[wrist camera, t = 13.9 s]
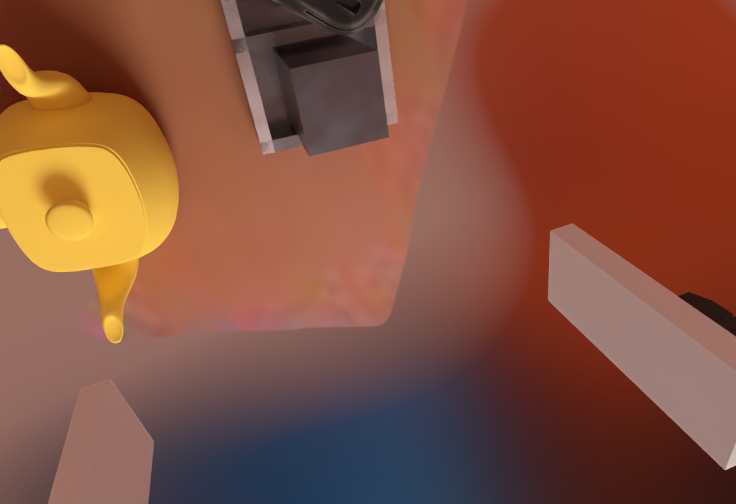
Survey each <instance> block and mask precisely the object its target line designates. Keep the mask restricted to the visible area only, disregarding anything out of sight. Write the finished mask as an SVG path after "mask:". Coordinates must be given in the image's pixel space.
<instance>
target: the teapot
mask: <svg viewBox="0 0 736 504" xmlns="http://www.w3.org/2000/svg"><path fill="white" fill-rule="evenodd" d="M0 70H1V72H2V74H3V75H4V77H5V78H6V80H7V81H8V82H9V83H10V84H11V86H12V87H13V88H14V89H15V90H17V91H18V92H19V93H20V94H22V95H24V96H26V98H27V99H28V100H24V101H20V102H17V103H15V104H13V105H11V106H9V107H8V108H7V109H6V110H4V111H3V112H2V113H1V114H0V229H1V228H8V229H9V231H10V233H11V234H12V236H13V238H14V239H15V241H16V242H17V244H18V245H19V247H20V248H21V249H22V250H23V252H24V253H25V254H26V255H27V257H28V258H30V260H31V261H32V262H34V263H35V264H36V265H38V266H39V267H41V268H43V269H45V270H48V271H54V272H69V271H80V270H87V269H92V270H93V274H94V278H95V282H96V286H97V290H98V295H99V301H100V308H101V318H102V325H103V329H104V332H105V334H106V336H107V338H108V339H109V340H110V341H111V342H113V343H118V342H120V341H121V339H122V336H123V308H124V304H125V301H126V298H127V295H128V293H129V291H130V289H131V287H132V285H133V283H134V280H135V278H136V275H137V270H138V261H139V258H140V257H142V256H143V255H145V254H147V253H149V252H151V251H153V250H154V249H155V248H157V247H158V246H159V245H160V244H161V243H162V242H163V241H164V240H165V239H166V237H167V236H168V235H169V233H170V231H171V229H172V227H173V225H174V222H175V220H176V214H177V209H178V201H179V183H178V175H177V170H176V165H175V162H174V158H173V155H172V152H171V150H170V147H169V145H168V143H167V141H166V139H165V137H164V135H163V133H162V131H161V130H160V128H159V126H158V125H157V123H156V121H155V120H154V119H153V117H152V116H151V114H150V113H149V112H148V111H147V110H146V109H145V108H144V107H143V106H142V105H141V104H140V103H138V102H137V101H135V100H134V99H132V98H129V97H127V96H124V95H120V94H116V93H103V92H87V91H86V90H85V89H84V87H83V86H82V85H81V84H80V83H79V82H78V81H77V80H76V79H74V78H73V77H71V76H69V75H68V74H65V73H62V72H58V71H51V70H50V71H36V72H34V71H33V70H31V69H30V68H29V66H28V65H27V64H26V63H25V62H24V60H23V59H22V58H21V57H20V56H19V55H18V53H17V52H16V51H14V50H13V49H12V48H11V47H9V46H7V45H4V44H0Z"/></svg>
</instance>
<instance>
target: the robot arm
mask: <svg viewBox="0 0 736 504" xmlns="http://www.w3.org/2000/svg"><path fill="white" fill-rule="evenodd" d="M548 300H549V302H551V303H552V304H553V305H554V306H555V307H556V308H557V309H558V310H559V311H560V312H561V313H562V314H563V315H564V316H565V317H566V318H567V319H568V320H569V321H570V322H571V323H573V324H574V326H575V327H577V328H578V329H579V330H580V331H581V332H582V333H583V334H584V335H585V336H586V337H587V338H588V339H589V340H590V341H591V342H592V343H593V344H594V345H595V346H596V347H598V348H599V350H601V351H602V352H603V353H604V354H605V355H606V356H607V357H608V358H609V359H610V360H611V361H612V362H613V363H614V364H615V365H616V366H617V367H618V368H619V369H620V370H621V371H622V372H624V373H625V374H626V376H628V377H629V378H630V379H631V380H632V381H633V382H634V383H635V384H636V385H637V386H638V387H639V388H640V389H641V390H642V391H643V392H644V393H645V394H646V395H647V396H648V397H649V398H650V399H652V401H654V402H655V403H656V404H657V405H658V406H659V407H660V408H661V409H662V410H663V411H664V412H665V413H666V414H667V415H668V416H669V417H670V418H671V419H672V420H673V421H675V423H676V424H677V425H679V426H680V427H681V428H682V429H683V430H684V431H685V432H686V433H687V434H688V435H689V436H690V437H691V438H692V439H693V440H694V441H695V442H696V443H697V444H698V445H699V446H700V447H701V448H703V450H705V451H706V452H707V453H708V454H709V455H710V456H711V457H712V458H713V459H714V460H715V461H716V462H717V463H718V464H719V465H720V466H721V467H722V468H723V469H724V470H726V469H729V468H731V467H733V466H735V465H736V317H734V316H733V314H732V313H731V312H729V311H728V310H726V309H724V308H723V307H721V306H720V305H718V304H717V303H715V302H714V301H712V300H709V299H706V298H703V297H701V296H698V295H695V294H693V293H690V292H688V293H686V294H683V295H680V296H676V295H675V294H673V293H672V292H671V291H669V290H668V289H666V288H665V287H664V286H662V285H660V284H659V283H658V282H656V281H655V280H653V279H652V278H650V277H649V276H648V275H646V274H645V273H643V272H642V271H640V270H639V269H637V268H636V267H634V266H633V265H632V264H630V263H629V262H627V261H626V260H624V259H623V258H622V257H620V256H619V255H617V254H616V253H614V252H613V251H612V250H610V249H609V248H607V247H606V246H604V245H603V244H601V243H600V242H599V241H597V240H596V239H594V238H593V237H591V236H590V235H588V234H587V233H585V232H584V231H583V230H581V229H580V228H578V227H577V226H575V225H574V224H569V225H566V226H563V227H560V228H557V229H554V230H552V231H550V255H549V286H548ZM153 445H154V441H153V439H152V438H151V437H150V435H149V434H148V432H147V431H146V429H145V428H144V427H143V425H142V424H141V422H140V421H139V420H138V418H137V416H136V415H135V413H134V412H133V411H132V409H131V408H130V406H129V405H128V403H127V402H126V400H125V399H124V397H123V396H122V395H121V393H120V392H119V390H118V389H117V388H116V386H115V385H114V383H113V382H112V380H111V379H110V378H109V379H106V380H103V381H100V382H98V383H94V384H91V385H88V386H86V387H83V388H80V392H79V395H78V398H77V402H76V405H75V409H74V413H73V416H72V420H71V423H70V427H69V430H68V434H67V438H66V441H65V445H64V448H63V452H62V455H61V459H60V463H59V466H58V470H57V474H56V477H55V480H54V484H53V487H52V491H51V495H50V498H49V502H48V504H148V498H149V488H150V477H151V466H152V456H153Z"/></svg>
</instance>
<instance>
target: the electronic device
mask: <svg viewBox="0 0 736 504" xmlns="http://www.w3.org/2000/svg"><path fill="white" fill-rule="evenodd" d="M270 1H272V2H273V3H275V4H277V5H279V6H281V7H283V8H285V9H287V10H289V11H291V12H293V13H295V14H297V15H299V16H301V17H303V18H305V19H306V20H308V21H310V22H312V23H314V24H317V25H319V26H320V27H322V28H324V29H327V30H329V31H331V32H333V33H336V34H340V35H351V34H354V33H357V32H359V31H361V30H363V29H364V28H365V27H367V26H368V25H369V23H370V22H371V21H372V20H373V19H374V17H375V15H376V14H377V12H378V10H379V9H380V7H381V5H382V3H383V1H384V0H270Z"/></svg>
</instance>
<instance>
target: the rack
mask: <svg viewBox="0 0 736 504" xmlns="http://www.w3.org/2000/svg"><path fill="white" fill-rule="evenodd" d="M220 2H221V5H222V9H223V13H224V16H225V20H226V23H227V27H228V31H229V34H230V38H231V41H232V45H233V49H234V52H235V56H236V60H237V63H238V67H239V70H240V74H241V78H242V81H243V85H244V89H245V92H246V96H247V99H248V103H249V107H250V110H251V114H252V118H253V121H254V125H255V128H256V132H257V136H258V139H259V143H260V146H261V149H262V152H263V155H264V154H268V153H273V152H277V151H281V150H285V149H289V148H293V147H298V146H302V145H303V146H304V148H305V150H306V151H307V153H308V155H309V156H313V155H317V154H321V153H325V152H329V151H333V150H338V149H342V148H346V147H350V146H354V145H358V144H362V143H366V142H370V141H375V140H379V139H383V138H387V137H389V134H388V126H387V125H390V124H394V123H398V117H397V108H396V99H395V90H394V81H393V72H392V64H391V55H390V46H389V37H388V28H387V19H386V10H385V2H384V1H383V3H382V5H381V7H380V9H379V10H378V12H377V14H376V15H375V17H374V19H373V20H372V21H371V22H370V23H369V25H368V26H367V27H365V28H364V29H363V30H361V31H359V32H357V33H354V34H351V35H340V34H336V33H333V32H331V31H329V30H327V29H324V28H322V27H320V26H319V25H317V24H314V23H312V22H310V21H308V20H306V19H305V18H303V17H301V16H299V15H297V14H295V13H293V12H291V11H289V10H287V9H285V8H283V7H281V6H279V5H277V4H275V3H273V2H272V1H270V0H220Z"/></svg>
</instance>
